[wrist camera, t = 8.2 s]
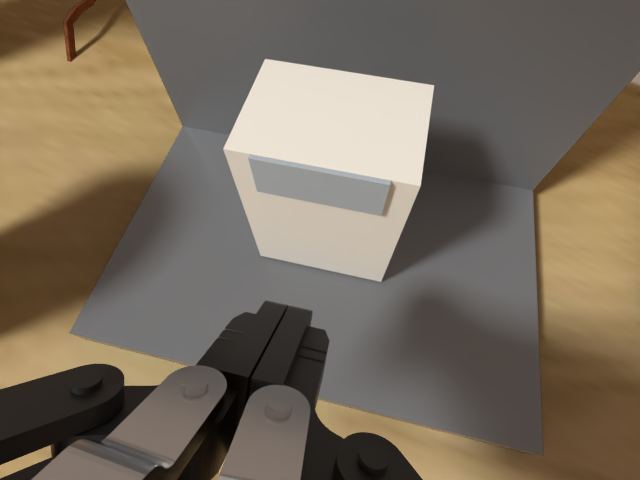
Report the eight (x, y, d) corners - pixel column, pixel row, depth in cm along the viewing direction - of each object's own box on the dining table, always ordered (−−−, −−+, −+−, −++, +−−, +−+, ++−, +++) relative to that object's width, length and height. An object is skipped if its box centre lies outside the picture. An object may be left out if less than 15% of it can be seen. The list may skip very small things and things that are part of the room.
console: (85, 339, 20) (-251, 213, 8) (214, 95, 29) (139, -135, 17) (526, 453, 18) (951, 507, 6) (520, 147, 27) (682, -80, 15)
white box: (259, 258, 21) (221, 153, 13) (284, 186, 23) (265, 58, 15) (380, 285, 20) (420, 190, 12) (393, 207, 22) (434, 85, 14)
